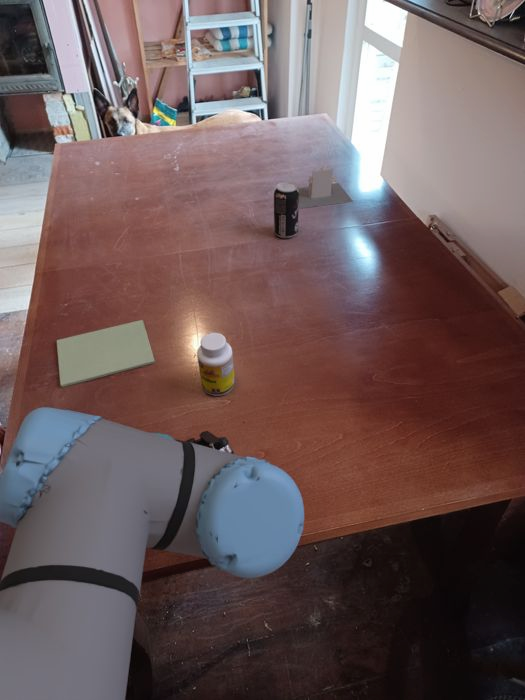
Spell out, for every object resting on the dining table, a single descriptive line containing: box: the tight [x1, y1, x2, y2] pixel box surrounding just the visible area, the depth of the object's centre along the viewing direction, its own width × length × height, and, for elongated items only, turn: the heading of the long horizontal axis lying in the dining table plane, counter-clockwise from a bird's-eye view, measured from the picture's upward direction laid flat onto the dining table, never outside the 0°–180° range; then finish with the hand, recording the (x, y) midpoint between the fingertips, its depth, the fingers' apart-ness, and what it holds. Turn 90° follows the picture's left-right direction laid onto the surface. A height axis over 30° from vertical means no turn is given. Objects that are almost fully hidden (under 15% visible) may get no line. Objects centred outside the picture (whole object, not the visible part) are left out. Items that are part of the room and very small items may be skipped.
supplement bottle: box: [196, 332, 236, 397], centre depth 77 cm, size 6×6×10 cm
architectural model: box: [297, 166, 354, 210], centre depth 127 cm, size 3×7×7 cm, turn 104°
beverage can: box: [273, 181, 300, 239], centre depth 111 cm, size 6×6×12 cm
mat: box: [56, 319, 156, 388], centre depth 86 cm, size 16×12×1 cm
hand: (146, 464), depth 65 cm, fingers closed on ring, 8 cm apart
